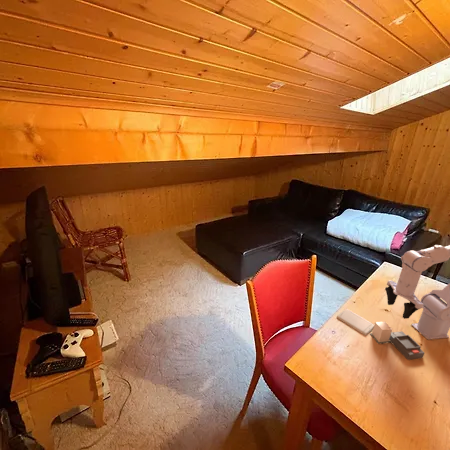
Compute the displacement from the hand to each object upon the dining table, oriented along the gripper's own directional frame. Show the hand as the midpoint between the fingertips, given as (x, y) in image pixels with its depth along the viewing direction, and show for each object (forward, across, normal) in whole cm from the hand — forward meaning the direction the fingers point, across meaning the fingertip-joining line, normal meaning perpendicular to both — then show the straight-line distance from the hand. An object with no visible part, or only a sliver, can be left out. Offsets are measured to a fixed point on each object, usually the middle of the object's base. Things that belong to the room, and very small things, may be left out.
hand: (397, 310), depth 94 cm
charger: (+10, +3, -7) cm, 13 cm away
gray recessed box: (+10, +8, -1) cm, 13 cm away
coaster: (+10, +3, -7) cm, 13 cm away
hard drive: (+11, -6, -11) cm, 17 cm away
